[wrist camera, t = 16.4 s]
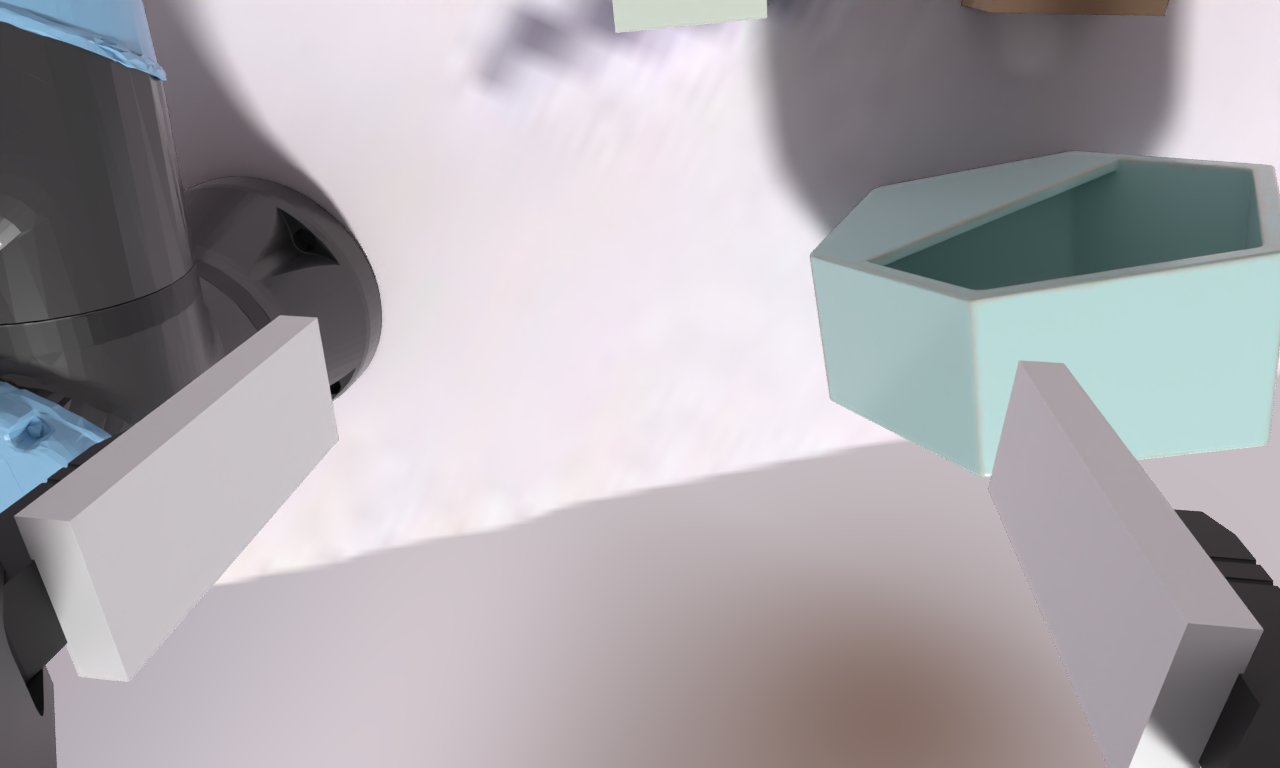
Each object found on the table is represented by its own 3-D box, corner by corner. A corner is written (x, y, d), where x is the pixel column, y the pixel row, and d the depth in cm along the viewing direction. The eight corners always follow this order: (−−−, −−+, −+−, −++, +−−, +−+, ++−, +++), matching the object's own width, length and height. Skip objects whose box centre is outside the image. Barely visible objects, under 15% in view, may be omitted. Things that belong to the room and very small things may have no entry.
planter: (991, 144, 48) (1437, 172, 30) (997, 270, 51) (1404, 363, 34) (744, 235, 43) (1110, 335, 25) (768, 370, 46) (1107, 542, 28)
